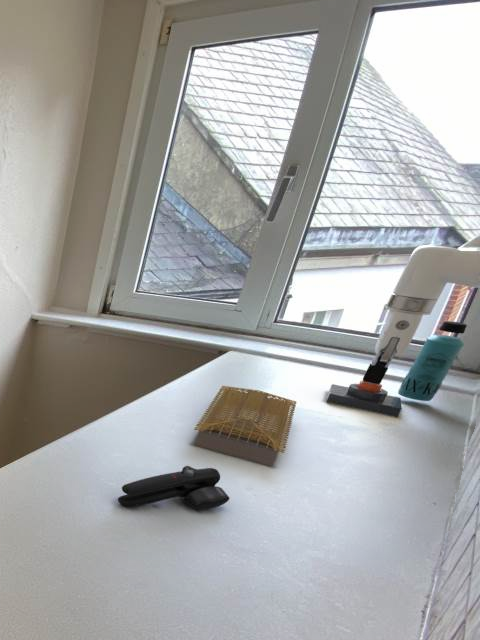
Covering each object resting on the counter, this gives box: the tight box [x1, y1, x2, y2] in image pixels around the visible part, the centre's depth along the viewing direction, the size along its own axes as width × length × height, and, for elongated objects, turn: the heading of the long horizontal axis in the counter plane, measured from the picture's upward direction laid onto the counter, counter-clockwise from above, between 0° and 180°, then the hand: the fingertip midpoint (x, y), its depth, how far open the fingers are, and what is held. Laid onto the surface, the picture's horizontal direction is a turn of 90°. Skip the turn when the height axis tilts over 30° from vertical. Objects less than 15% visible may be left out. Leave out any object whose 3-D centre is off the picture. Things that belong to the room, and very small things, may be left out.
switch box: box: [325, 383, 403, 418], centre depth 132 cm, size 13×10×4 cm
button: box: [358, 380, 383, 392], centre depth 131 cm, size 4×4×2 cm
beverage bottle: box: [397, 320, 468, 402], centre depth 131 cm, size 6×7×20 cm
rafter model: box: [193, 385, 297, 467], centre depth 114 cm, size 35×14×6 cm, turn 140°
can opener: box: [117, 465, 230, 511], centre depth 86 cm, size 18×7×6 cm, turn 100°
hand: (370, 381), depth 131 cm, fingers closed
